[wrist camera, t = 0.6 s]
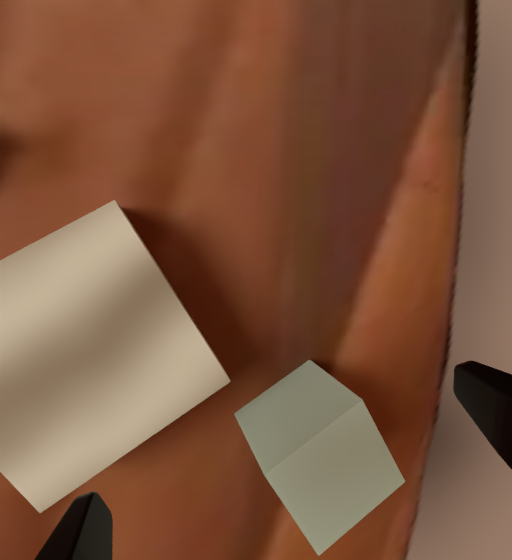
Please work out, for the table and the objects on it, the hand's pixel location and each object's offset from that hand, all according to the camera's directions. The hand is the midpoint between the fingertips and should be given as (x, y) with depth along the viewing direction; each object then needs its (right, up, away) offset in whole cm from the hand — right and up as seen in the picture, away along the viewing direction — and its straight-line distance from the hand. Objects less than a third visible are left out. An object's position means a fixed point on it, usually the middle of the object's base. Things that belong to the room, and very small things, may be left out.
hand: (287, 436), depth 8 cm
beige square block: (-10, +1, +10) cm, 14 cm away
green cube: (+2, -6, +15) cm, 16 cm away
